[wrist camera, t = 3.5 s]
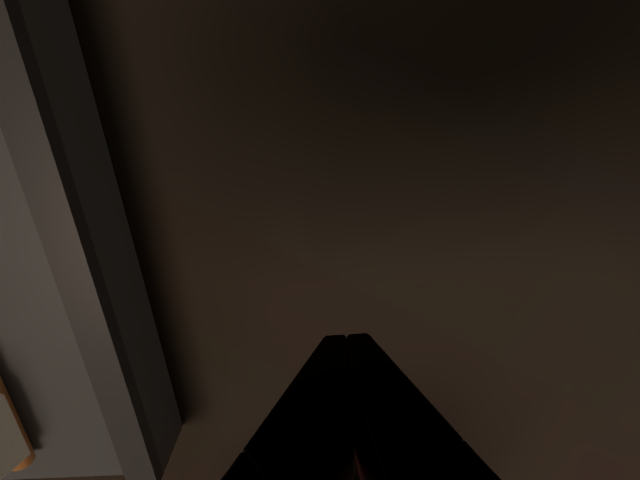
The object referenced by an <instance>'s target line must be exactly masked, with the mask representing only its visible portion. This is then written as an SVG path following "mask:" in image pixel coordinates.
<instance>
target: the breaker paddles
mask: <svg viewBox="0 0 640 480" xmlns="http://www.w3.org/2000/svg"><path fill="white" fill-rule="evenodd" d="M35 458H36V454H35V452H34V449H33V447H32V445H31V443H30V440H29V438H28V436H27V434H26V431H25V429H24V427H23V425H22V423H21V420H20V418H19V416H18V414H17V411H16V409H15V407H14V405H13V402H12V400H11V398H10V396H9V393H8V391H7V389H6V387H5V384H4V382H3V380H2V378H1V376H0V480H2V479H3V478H4V477H6V476H7V475H8V474H9V473H10V472H11V471H20V470H23V469H25V468H26V467H28V466H29V465H31V464H32V463H33V461H34V460H35Z"/></svg>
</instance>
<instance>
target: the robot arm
mask: <svg viewBox="0 0 640 480" xmlns="http://www.w3.org/2000/svg"><path fill="white" fill-rule="evenodd" d="M353 433H354V436H353ZM354 445H355V454H356V460H357V467H358V472H359V477H360V480H501V479H500V478H499V477H498V476H497V475H496V474H495V473H494V472H493V471H492V470H491V468H490V467H489V466H488V465H487V464H486V463H485V462H484V461H483V460H482V459H481V458H480V457H479V456H478V455H477V454H476V453H475V451H474V450H473V449H472V448H471V447H470V446H469V445H468V444H467V442H465V441H463V439H462V437H461V436H460V435H459V434H458V433H457V432H456V431H455V429H454V428H453V427H452V426H451V425H450V424H449V423H448V422H447V421H446V419H445V418H444V417H443V416H442V415H441V414H440V413H439V412H438V411H437V409H436V408H435V407H434V406H433V405H432V404H431V403H430V402H429V401H428V399H427V398H426V397H425V396H424V395H423V394H422V393H421V392H420V391H419V389H418V388H417V387H416V386H415V385H414V384H413V383H412V382H411V381H410V380H409V378H408V377H407V376H406V375H405V374H404V373H403V372H402V371H401V370H400V368H399V367H398V366H397V365H396V364H395V363H394V362H393V361H392V360H391V358H390V357H389V356H388V355H387V354H386V353H385V352H384V351H383V350H382V348H381V347H380V346H379V345H378V344H377V343H376V342H375V341H374V340H373V338H372V337H371V336H370V335H369V334H367V333H361V334H349V335H348V336H347V339H346V336H345V335H331V336H325V337H324V338H323V339H322V341H321V342H320V344H319V345H318V346H317V348H316V349H315V350H314V352H313V353H312V355H311V356H310V357H309V359H308V360H307V362H306V363H305V364H304V366H303V367H302V369H301V370H300V371H299V373H298V374H297V375H296V377H295V378H294V380H293V381H292V382H291V384H290V385H289V387H288V388H287V389H286V391H285V392H284V394H283V395H282V396H281V398H280V399H279V400H278V402H277V403H276V405H275V406H274V407H273V409H272V410H271V412H270V413H269V414H268V416H267V417H266V419H265V420H264V421H263V423H262V424H261V426H260V427H259V428H258V430H257V431H256V432H255V434H254V435H253V437H252V438H251V439H250V441H249V442H248V444H247V445H246V446H245V448H244V449H243V452H241V453H240V454H239V456H238V457H237V459H236V460H235V461H234V463H233V464H232V465H231V467H230V468H229V470H228V471H227V472H226V473H225V475H224V476H223V477H222V479H221V480H353V473H354Z"/></svg>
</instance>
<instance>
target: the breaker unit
mask: <svg viewBox="0 0 640 480" xmlns="http://www.w3.org/2000/svg"><path fill="white" fill-rule="evenodd" d="M0 376H1V378H2V380H3V382H4V384H5V387H6V389H7V391H8V393H9V396H10V398H11V400H12V402H13V405H14V407H15V409H16V411H17V414H18V416H19V418H20V420H21V423H22V425H23V427H24V429H25V431H26V434H27V436H28V438H29V440H30V443H31V445H32V447H33V449H34V452H35V454H36V458H35V460H34V461H33V463H32V464H31V465H29V466H28V467H26V468H25V469H23V470H20V471H11V472H10V473H9V474H8V475H7V476H6V477H4V478H3V479H2V480H12V479H36V478H60V477H84V476H108V475H124V477H125V480H161V479H162V476H163V474H164V471H165V469H166V466H167V464H168V461H169V459H170V456H171V454H172V451H173V448H174V446H175V443H176V441H177V438H178V436H179V433H180V431H181V428H182V426H183V424H182V421H181V417H180V413H179V410H178V406H177V402H176V399H175V395H174V391H173V387H172V384H171V380H170V376H169V373H168V369H167V365H166V362H165V358H164V354H163V350H162V347H161V343H160V339H159V336H158V332H157V328H156V324H155V321H154V317H153V313H152V310H151V306H150V302H149V299H148V295H147V291H146V287H145V284H144V280H143V276H142V273H141V269H140V265H139V262H138V258H137V254H136V250H135V247H134V243H133V239H132V236H131V232H130V228H129V224H128V221H127V217H126V213H125V210H124V206H123V202H122V199H121V195H120V191H119V187H118V184H117V180H116V176H115V173H114V169H113V165H112V162H111V158H110V154H109V150H108V147H107V143H106V139H105V136H104V132H103V128H102V124H101V121H100V117H99V113H98V110H97V106H96V102H95V99H94V95H93V91H92V87H91V84H90V80H89V76H88V73H87V69H86V65H85V62H84V58H83V54H82V50H81V47H80V43H79V39H78V36H77V32H76V28H75V24H74V21H73V17H72V13H71V10H70V6H69V2H68V0H0Z"/></svg>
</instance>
